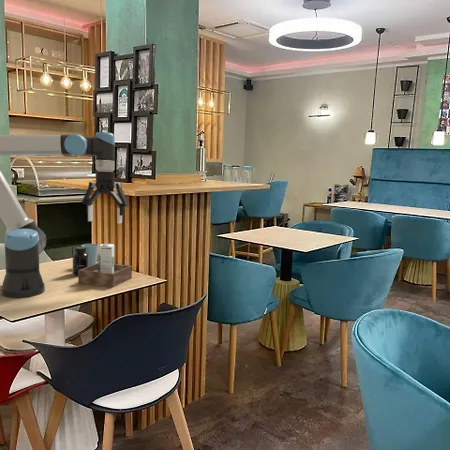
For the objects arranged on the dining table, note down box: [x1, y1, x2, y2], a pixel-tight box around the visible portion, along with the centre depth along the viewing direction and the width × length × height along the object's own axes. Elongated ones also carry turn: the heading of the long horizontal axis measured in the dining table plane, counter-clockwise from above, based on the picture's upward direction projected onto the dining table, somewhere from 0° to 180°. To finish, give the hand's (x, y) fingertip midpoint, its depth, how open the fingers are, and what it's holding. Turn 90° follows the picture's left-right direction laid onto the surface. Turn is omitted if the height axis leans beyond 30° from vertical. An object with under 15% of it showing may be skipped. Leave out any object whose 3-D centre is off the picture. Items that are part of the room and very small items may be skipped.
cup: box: [81, 243, 99, 266], centre depth 215 cm, size 8×8×10 cm
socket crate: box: [77, 262, 133, 288], centre depth 191 cm, size 16×16×6 cm
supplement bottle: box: [72, 246, 89, 276], centre depth 200 cm, size 7×7×12 cm
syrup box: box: [97, 243, 115, 273], centre depth 190 cm, size 6×6×14 cm
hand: (105, 222), depth 188 cm, fingers open, 13 cm apart
